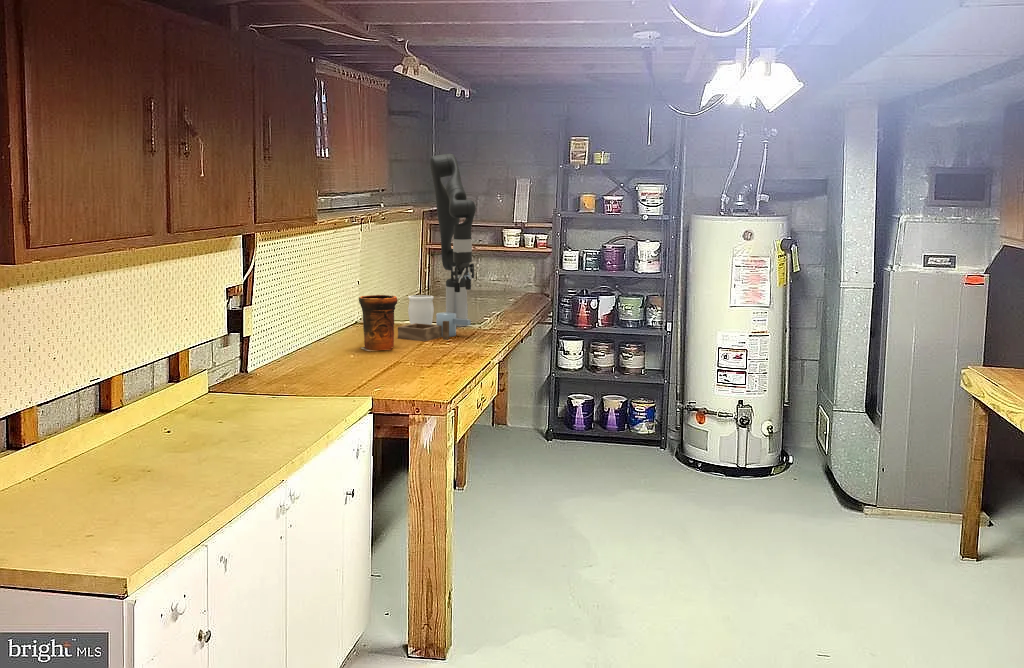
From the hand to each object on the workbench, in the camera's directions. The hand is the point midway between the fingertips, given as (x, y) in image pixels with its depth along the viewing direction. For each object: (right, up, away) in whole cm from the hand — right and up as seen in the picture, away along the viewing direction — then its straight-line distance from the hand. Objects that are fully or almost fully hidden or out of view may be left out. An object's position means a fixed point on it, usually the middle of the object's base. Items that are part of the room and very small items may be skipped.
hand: (462, 290), depth 396 cm
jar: (-18, -17, +19) cm, 32 cm away
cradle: (-15, -20, -2) cm, 25 cm away
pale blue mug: (-4, -18, +5) cm, 19 cm away
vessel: (-31, -23, -22) cm, 44 cm away
